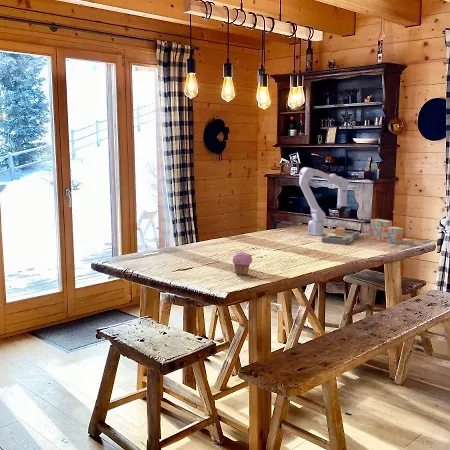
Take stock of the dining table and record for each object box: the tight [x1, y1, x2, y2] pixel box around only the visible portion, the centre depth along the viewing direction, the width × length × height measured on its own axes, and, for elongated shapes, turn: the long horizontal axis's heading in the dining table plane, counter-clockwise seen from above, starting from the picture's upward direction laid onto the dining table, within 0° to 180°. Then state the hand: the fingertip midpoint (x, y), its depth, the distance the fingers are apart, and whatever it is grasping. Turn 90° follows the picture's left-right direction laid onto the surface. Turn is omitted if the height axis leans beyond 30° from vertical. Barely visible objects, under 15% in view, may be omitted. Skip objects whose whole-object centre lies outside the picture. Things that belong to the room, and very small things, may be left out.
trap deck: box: [321, 230, 360, 246], centre depth 329 cm, size 14×32×3 cm, turn 152°
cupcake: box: [232, 251, 253, 276], centre depth 239 cm, size 9×9×10 cm
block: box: [334, 226, 346, 236], centre depth 325 cm, size 4×4×4 cm
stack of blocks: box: [369, 218, 404, 245], centre depth 327 cm, size 21×6×12 cm, turn 28°
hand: (341, 218), depth 346 cm, fingers closed
